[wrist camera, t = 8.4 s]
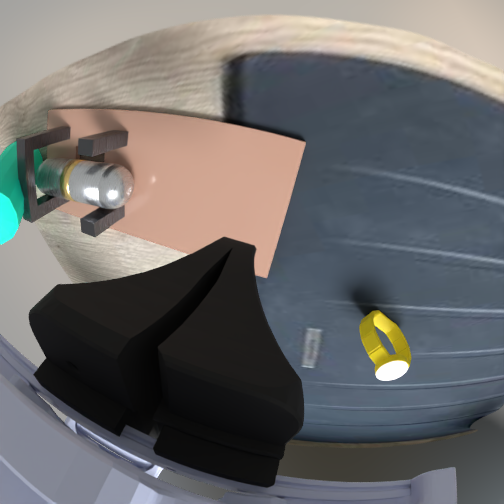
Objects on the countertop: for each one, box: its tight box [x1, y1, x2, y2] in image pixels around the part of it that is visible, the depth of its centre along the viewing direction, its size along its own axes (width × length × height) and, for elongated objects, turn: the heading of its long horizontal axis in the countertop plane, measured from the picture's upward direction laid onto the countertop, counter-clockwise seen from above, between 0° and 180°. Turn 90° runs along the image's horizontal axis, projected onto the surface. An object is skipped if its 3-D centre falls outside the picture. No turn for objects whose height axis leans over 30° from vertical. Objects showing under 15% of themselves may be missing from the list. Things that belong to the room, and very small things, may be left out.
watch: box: [359, 310, 411, 381], centre depth 20 cm, size 6×3×6 cm, turn 56°
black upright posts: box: [17, 126, 129, 237], centre depth 18 cm, size 9×8×6 cm
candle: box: [0, 141, 43, 244], centre depth 17 cm, size 6×6×12 cm
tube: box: [35, 158, 134, 209], centre depth 19 cm, size 12×4×4 cm, turn 80°
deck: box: [47, 109, 306, 278], centre depth 20 cm, size 25×11×1 cm, turn 77°
